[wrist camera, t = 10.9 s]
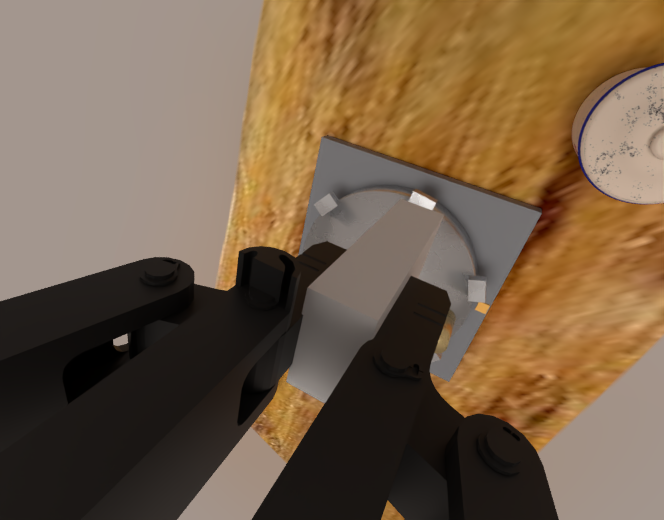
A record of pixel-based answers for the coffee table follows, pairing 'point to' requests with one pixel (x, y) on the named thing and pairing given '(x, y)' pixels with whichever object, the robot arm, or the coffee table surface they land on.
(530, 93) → the coffee table surface
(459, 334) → the plate
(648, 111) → the teacup with lid
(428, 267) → the grey metal round disc
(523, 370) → the coffee table surface
